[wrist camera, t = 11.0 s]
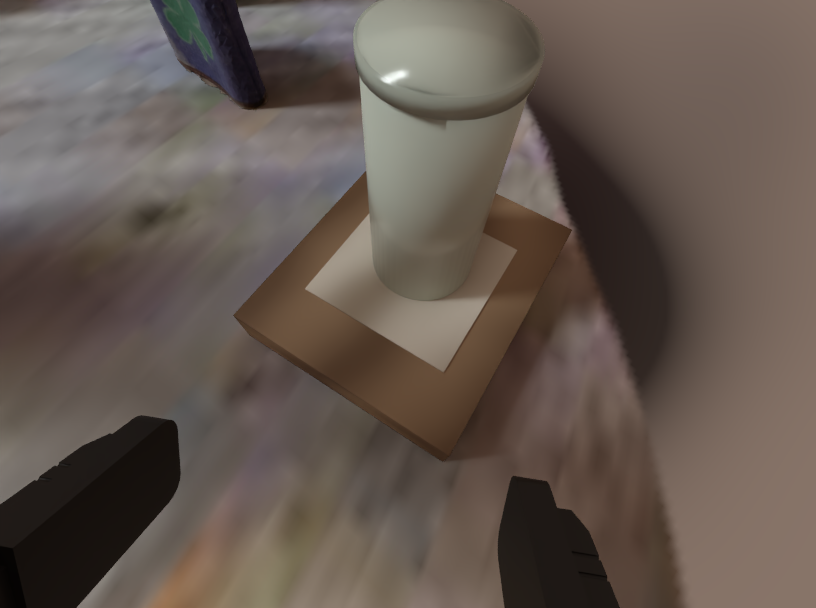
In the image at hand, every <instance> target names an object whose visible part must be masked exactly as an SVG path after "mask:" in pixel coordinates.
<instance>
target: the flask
mask: <svg viewBox="0 0 816 608" xmlns="http://www.w3.org/2000/svg"><path fill="white" fill-rule="evenodd" d="M150 1H151V3H152V5H153V7H154V9H155V11H156V13H157V16H158V18H159V20H160V23H161V25H162V27H163V29H164V31H165V33H166V35H167V37H168V40H169V42H170V44H171V46H172V47H173V49H174V52H175V56H176V57H177V59H178V61H179V62H180V63H181V64H182V65H183V67H185V68H186V70H187V71H189V72H191V71H192V72H194V73H195V74H197V75H198V76H199V77H200V78H201V80H202V81H204V82H205V84H208V85H209V86H212V87H213V86H214V87H218V88H219V89H220V90H221V91H220V93H223V94H226V95H228V96H229V98H230V100H232V101H233V102H234V103H235V104H236V105H238V106H239V107H240V108H242V109H243V108H244V109H253V110H256V109H257V108H259V107H261V106H263V105H264V104H265V103H266V102H267V100H268V96H267V93H266V90H265V87H264V85H263V83H262V80H261V78H260V75H259V71H258V68H257V66H256V62H255V58H254V56H253V53H252V50H251V48H250V45H249V42H248V38H247V36H246V33H245V31H244V27H243V24H242V21H241V18H240V15H239V12H238V7H237V4H236V1H235V0H150Z"/></svg>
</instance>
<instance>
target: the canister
mask: <svg viewBox="0 0 816 608" xmlns="http://www.w3.org/2000/svg"><path fill="white" fill-rule="evenodd" d="M353 44H354V57H355V65H356V69H357V72H358V74H359V78H360V92H361V105H362V119H363V133H364V147H365V160H366V174H367V188H368V202H369V216H370V229H371V243H372V257H373V265H374V269H375V271H376V273H377V276H378V277H379V279H380V280H381V281H382V283H383V284H384V285H385V286H386V287H387V288H389V289H390V290H391V291H393V292H394V293H396V294H398V295H400V296H402V297H405V298H408V299H413V300H420V301H429V300H436V299H440V298H443V297H446V296H448V295H450V294H452V293H453V292H455V291H456V290H457V289H459V288H460V287H461V286H462V285H463V283H464V282H465V281H466V279H467V277H468V275H469V273H470V270H471V267H472V264H473V261H474V258H475V255H476V252H477V249H478V246H479V243H480V239H481V236H482V233H483V230H484V227H485V224H486V221H487V218H488V215H489V212H490V209H491V206H492V203H493V200H494V197H495V194H496V191H497V188H498V185H499V182H500V179H501V176H502V172H503V169H504V166H505V163H506V160H507V157H508V154H509V151H510V148H511V145H512V142H513V139H514V136H515V133H516V130H517V127H518V124H519V121H520V118H521V115H522V112H523V108H524V105H525V102H526V99H527V96H528V94H529V93H530V92H531V90H532V89H533V87H534V85H535V83H536V80H537V77H538V74H539V71H540V68H541V65H542V62H543V59H544V54H545V46H544V41H543V37H542V35H541V33H540V31H539V29H538V28H537V27H536V25H535V24H534V23H533V22H532V20H530V19H529V18H528V17H527V16H526V15H525V14H524V13H522V12H521V11H520V10H519V9H517V8H515V7H514V6H512V5H510V4H509V3H507V2H505V1H503V0H379V1H377V2H376V3H374V4H373V5H371V6H370V7H369V8H368V9H366V10H365V11H364V12H363V14H362V15H361V16H360V17H359V19H358V21H357V23H356V25H355V28H354V31H353Z"/></svg>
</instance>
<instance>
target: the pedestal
mask: <svg viewBox="0 0 816 608" xmlns="http://www.w3.org/2000/svg"><path fill="white" fill-rule="evenodd" d="M571 231H572V230H571V229H569V228H567V227H565V226H563V225H561V224H559V223H557V222H555V221H552V220H550V219H548V218H546V217H544V216H542V215H540V214H538V213H536V212H534V211H532V210H529V209H527V208H525V207H523V206H521V205H519V204H517V203H515V202H513V201H511V200H509V199H506V198H504V197H502V196H500V195H498V194H495V197H494V200H493V203H492V206H491V209H490V212H489V215H488V218H487V221H486V224H485V227H484V230H483V233H482V236H481V239H480V243H479V246H478V249H477V252H476V255H475V258H474V261H473V264H472V267H471V270H470V273H469V275H468V277H467V279H466V281H465V282H464V283H463V285H462V286H461V287H460V288H459V289H457V290H456V291H455V292H453V293H452V294H450V295H448V296H446V297H443V298H440V299H436V300H429V301H420V300H413V299H408V298H405V297H402V296H400V295H398V294H396V293H394V292H393V291H391V290H390V289H389V288H387V287H386V286H385V285H384V284H383V283H382V281H381V280H380V279H379V277H378V276H377V273H376V271H375V269H374V265H373V257H372V243H371V229H370V216H369V202H368V188H367V174H366V172H365V173H364V174H363V175H362V176H361V177H360V178H359V179H358V180H357V181H356V182H355V183H354V185H353V186H352V187H351V188H350V189H349V190H348V191H347V192H346V193H345V194H344V195H343V197H342V198H341V199H340V200H339V201H338V202H337V203H336V204H335V205H334V206H333V207H332V208H331V210H330V211H329V212H328V213H327V214H326V215H325V216H324V217H323V218H322V219H321V220H320V222H319V223H318V224H317V225H316V226H315V227H314V228H313V229H312V230H311V231H310V232H309V233H308V235H307V236H306V237H305V238H304V239H303V240H302V241H301V242H300V243H299V244H298V245H297V247H296V248H295V249H294V250H293V251H292V252H291V253H290V254H289V255H288V256H287V257H286V258H285V260H284V261H283V262H282V263H281V264H280V265H279V266H278V267H277V268H276V269H275V270H274V272H273V273H272V274H271V275H270V276H269V277H268V278H267V279H266V280H265V281H264V282H263V284H262V285H261V286H260V287H259V288H258V289H257V290H256V291H255V292H254V293H253V294H252V295H251V297H250V298H249V299H248V300H247V301H246V302H245V303H244V304H243V305H242V306H241V307H240V309H239V310H238V311H237V312H236V313H235V314H234V315H233V316H234V317H235V318H236V319H237V321H238V322H239V323H240V324H241V325H242V327H243V328H244V329H245V330H246V331H247V332H248V334H249V335H250V336H252V337H253V338H255V339H257V340H258V341H260V342H261V343H263V344H264V345H266V346H267V347H269V348H270V349H272V350H273V351H275V352H276V353H278V354H279V355H281V356H282V357H284V358H285V359H287V360H288V361H290V362H292V363H293V364H295V365H296V366H298V367H299V368H301V369H302V370H304V371H305V372H307V373H308V374H310V375H311V376H313V377H314V378H316V379H317V380H319V381H320V382H322V383H323V384H325V385H327V386H328V387H330V388H331V389H333V390H334V391H336V392H337V393H339V394H340V395H342V396H343V397H345V398H346V399H348V400H349V401H351V402H352V403H354V404H355V405H357V406H358V407H360V408H362V409H363V410H365V411H366V412H368V413H369V414H371V415H372V416H374V417H375V418H377V419H378V420H380V421H381V422H383V423H384V424H386V425H387V426H389V427H390V428H392V429H394V430H395V431H397V432H398V433H400V434H401V435H403V436H404V437H406V438H407V439H409V440H410V441H412V442H413V443H415V444H416V445H418V446H419V447H421V448H422V449H424V450H425V451H427V452H429V453H430V454H432V455H433V456H435V457H436V458H438V459H439V460H441V461H442V462H443V461H444V460H446V459H447V458H448V457H449V456H450V454H451V452H452V451H453V449H454V447H455V445H456V443H457V441H458V440H459V438H460V436H461V434H462V432H463V430H464V428H465V427H466V425H467V423H468V421H469V419H470V417H471V416H472V414H473V412H474V410H475V408H476V406H477V404H478V403H479V401H480V399H481V397H482V395H483V393H484V392H485V390H486V388H487V386H488V384H489V382H490V380H491V379H492V377H493V375H494V373H495V371H496V369H497V368H498V366H499V364H500V362H501V360H502V358H503V357H504V355H505V353H506V351H507V349H508V347H509V345H510V344H511V342H512V340H513V338H514V336H515V334H516V333H517V331H518V329H519V327H520V325H521V323H522V321H523V320H524V318H525V316H526V314H527V312H528V310H529V309H530V307H531V305H532V303H533V301H534V299H535V297H536V296H537V294H538V292H539V290H540V288H541V286H542V285H543V283H544V281H545V279H546V277H547V275H548V273H549V272H550V270H551V268H552V266H553V264H554V262H555V261H556V259H557V257H558V255H559V253H560V251H561V250H562V248H563V246H564V244H565V242H566V240H567V238H568V237H569V235H570V233H571Z"/></svg>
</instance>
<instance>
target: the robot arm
mask: <svg viewBox="0 0 816 608" xmlns="http://www.w3.org/2000/svg"><path fill="white" fill-rule="evenodd" d="M179 481H180V457H179V443H178V429H177V425H176V423H175V422H174V421H173V420H168V419H161V418H155V417H149V416H142V415H141V416H137V417H135V418H134V419H132V420H131V421H130V422H128V423H127V424H126V425H124V426H123V427H121V428H120V429H119V430H117V431H116V432H115V433H113V434H108V435H106V436H103V437H101V438H99V439H97V440H95V441H92V442H90V443H88V444H86V445H83V446H82V447H80V448H79V449H77V450H76V451H75V452H73V453H72V454H70V455H69V456H68V457H66V458H65V459H63V460H62V461H61V462H59V465H58V466H54V467H52V468H51V469H49V470H48V471H47V472H45V473H44V474H42V475H41V476H40V477H39V479H38V480H37V481H36V480H34V481H33V482H31V483H30V484H28V485H27V486H26V487H24V488H23V489H21V490H20V491H19V492H17V493H16V494H14V495H13V496H12V497H10V498H9V499H7V500H6V501H5V502H3V503H2V504H0V608H77V606H78V605H79V604H80V603H81V602H82V601H83V600H84V598H85V597H86V596H87V595H88V594H89V593H90V592H91V590H92V589H93V588H94V587H95V586H96V585H97V584H98V583H99V581H100V580H101V579H102V578H103V577H104V576H105V575H106V573H107V572H108V571H109V570H110V569H111V568H112V567H113V565H114V564H115V563H116V562H117V561H118V560H119V559H120V558H121V556H122V555H123V554H124V553H125V552H126V551H127V550H128V548H129V547H130V546H131V545H132V544H133V543H134V542H135V540H136V539H137V538H138V537H139V536H140V535H141V534H142V532H143V531H144V530H145V529H146V528H147V527H148V526H149V525H150V523H151V522H152V521H153V520H154V519H155V518H156V517H157V515H158V514H159V513H160V512H161V511H162V510H163V509H164V507H165V506H166V505H167V504H168V503H169V502H170V500H171V499H172V497H173V496H174V494H175V492H176V490H177V487H178V484H179ZM498 561H499V568H500V576H501V584H502V591H503V599H504V607H505V608H620V607H619V605H618V602H617V600H616V597H615V595H614V592H613V590H612V587H611V585H610V582H608V581H607V575H606V572H605V570H604V567H603V565H602V562H601V561H600V560H599V555H598V553H597V550H596V548H595V545H594V543H593V540H592V538H591V535H590V533H589V531H588V530H587V529H586V527H585V526H584V525H583V524H582V523H581V521H580V520H579V519H578V518H577V516H576V515H575V514H574V513H573V512H572V510H566V509H560V508H557V506H556V503H555V500H554V497H553V494H552V491H551V488H550V486H549V484H548V482H547V481H542V480H536V479H530V478H523V477H517V476H513V477H512V478H511V481H510V484H509V489H508V493H507V498H506V502H505V506H504V511H503V515H502V519H501V524H500V529H499V536H498Z"/></svg>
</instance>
